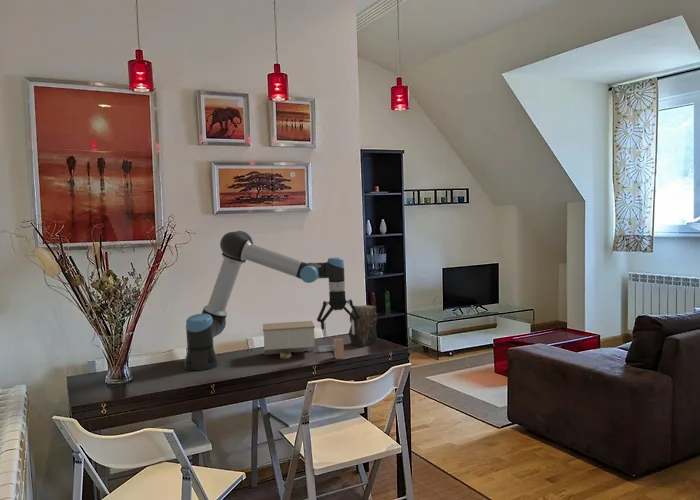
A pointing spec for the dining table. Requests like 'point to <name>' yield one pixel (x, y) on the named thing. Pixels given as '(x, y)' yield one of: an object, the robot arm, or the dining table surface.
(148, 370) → the dining table surface
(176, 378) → the dining table surface
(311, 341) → the cabinet
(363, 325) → the owl
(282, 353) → the tile
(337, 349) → the mallet
